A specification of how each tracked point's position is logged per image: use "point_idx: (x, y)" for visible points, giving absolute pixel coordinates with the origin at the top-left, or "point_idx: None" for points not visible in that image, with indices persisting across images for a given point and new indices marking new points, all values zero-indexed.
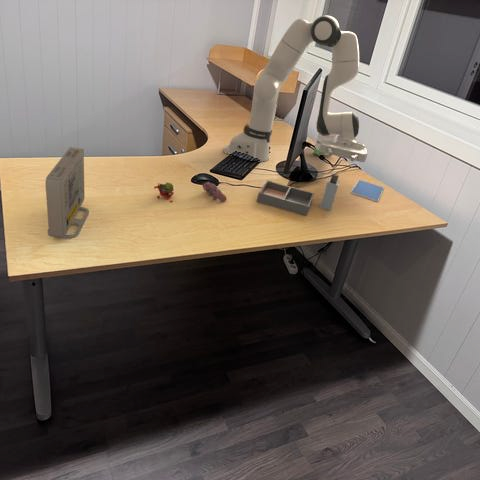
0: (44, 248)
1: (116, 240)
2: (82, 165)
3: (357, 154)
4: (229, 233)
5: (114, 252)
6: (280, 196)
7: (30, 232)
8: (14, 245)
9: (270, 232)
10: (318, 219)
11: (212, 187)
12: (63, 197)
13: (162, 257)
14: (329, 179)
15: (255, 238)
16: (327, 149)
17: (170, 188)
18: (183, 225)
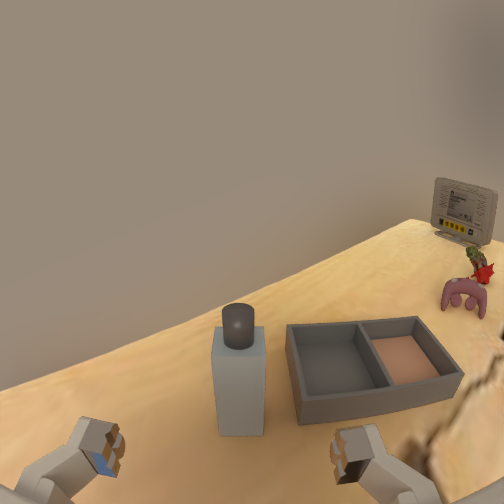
0: (429, 227)
1: (417, 237)
2: (487, 206)
3: (22, 495)
4: (363, 266)
5: (402, 232)
6: (390, 372)
7: None
8: None
9: (321, 284)
10: None
11: (461, 278)
12: (438, 194)
13: (374, 236)
14: (260, 354)
15: (330, 270)
16: (421, 485)
17: (466, 249)
18: (410, 260)
